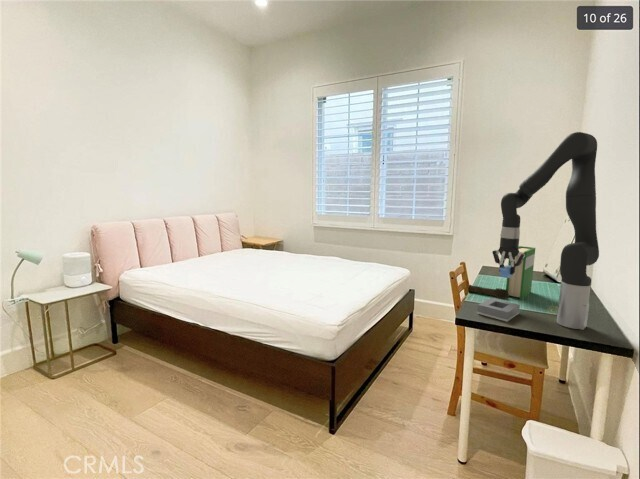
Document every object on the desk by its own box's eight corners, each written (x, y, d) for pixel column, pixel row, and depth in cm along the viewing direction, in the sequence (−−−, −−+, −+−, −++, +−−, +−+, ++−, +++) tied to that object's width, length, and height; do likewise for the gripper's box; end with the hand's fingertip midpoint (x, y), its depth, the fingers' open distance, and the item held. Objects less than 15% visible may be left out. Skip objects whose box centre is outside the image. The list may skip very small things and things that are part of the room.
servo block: (514, 275, 156) (515, 264, 155) (506, 278, 149) (507, 267, 148) (506, 273, 158) (507, 263, 158) (498, 277, 152) (499, 266, 151)
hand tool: (467, 292, 175) (467, 284, 174) (469, 290, 178) (470, 282, 177) (507, 300, 162) (507, 291, 162) (509, 298, 165) (510, 289, 165)
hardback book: (521, 299, 163) (526, 251, 160) (505, 296, 168) (509, 249, 165) (530, 292, 176) (535, 247, 172) (515, 289, 181) (519, 246, 177)
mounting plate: (518, 313, 144) (519, 304, 144) (507, 321, 135) (507, 312, 134) (490, 306, 153) (490, 298, 153) (477, 313, 144) (477, 304, 143)
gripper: (530, 237, 148) (526, 275, 151) (496, 234, 159) (493, 269, 161) (524, 239, 143) (520, 277, 146) (490, 236, 154) (487, 272, 156)
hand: (506, 273), depth 154 cm, fingers closed on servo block, 3 cm apart
